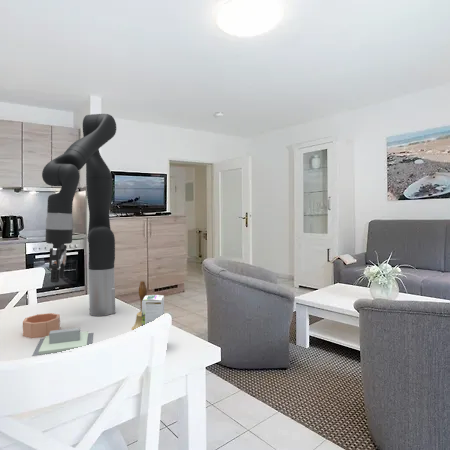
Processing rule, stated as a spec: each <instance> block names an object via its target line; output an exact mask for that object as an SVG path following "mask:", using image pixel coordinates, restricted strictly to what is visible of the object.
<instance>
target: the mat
mask: <svg viewBox="0 0 450 450" xmlns="http://www.w3.org/2000/svg"><path fill="white" fill-rule="evenodd" d="M94 336H95V335H94V332H88V342H87V345H89V344H92V343H93V344H94ZM44 339H45V337H42V338H40V339H39V341H38V343H37V345H36V347H35V349H34V352H33V353H32V355H31V357H36V356H37V357H38V356H45V354H39V353H38V352H39V349H40V347H41V345H42V343H43V341H44ZM53 354H58V353H57V352H54V353H53ZM46 355H52V354H51V353H47V354H46Z"/></svg>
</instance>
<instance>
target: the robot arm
mask: <svg viewBox="0 0 450 450" xmlns="http://www.w3.org/2000/svg"><path fill="white" fill-rule="evenodd" d="M116 133H117V122H116V120H115V118H114V116H113V115H111V114H108V113H94V114H87V115H85V116H83V119H82V137H81V138H79V139H77V140H75V141H74V142H72V144H71V145H69V147H68V148H67V149H66V150H65V151H64V153H62V154H60V155H59V156H57V157H55V158H53V159H51V161H49V162H47V164H45V166H44V167H43V169H42V172H41V177H42V180H43V182H44V183H45V184H46V185H48V186H50V187H61V188H60V190H59V191H58V192H57V193H52V194H50V195H49V196H48V197H47V209H46V211H47V212H46V219H45V243H46V244H52V248H51V247H50V249H49V263H48V264H49V265H48V268H49V269H50V270H49V271H50V282H51V283H59V282H60V278H64V277H65V266H66V264H67V247H68V246H67V245H68V244H72V243H73V226H74V219H73V201H74V198H75V196H76V195H75V194H76V192H77V189H78V186H79V183H80V170H81V169H83V167H85V181H86V182H85V183H86V184H85V187H86V197H87V198H86V199H87V205H88V212H89V215H88V231H87V243H88V293H89V295H88V300H89V301H88V302H89V308H88V309H89V315H90V316H94V317H102V316H103V317H104V316H108V315H112V314H116V288H115V287H116V286H115V285H116V283H115V262H116V261H115V260H116V239H115V234H114V232H113V231H112V230H111V229H112V227H111V222H110V220H111V219H110V209H111V203H112V197H113V196H112V194H113V178H112V176H113V175H112V172H111V170H110V168H109V166H108V165H107V163H106V162H105V160H104V159H103V157H102V156H101V153H100V149H101V148H102V147H103V146H104V145H105V144H107V143H108V142H109V141H110V140H111V139H112V138H114V136H115V135H116Z"/></svg>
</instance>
